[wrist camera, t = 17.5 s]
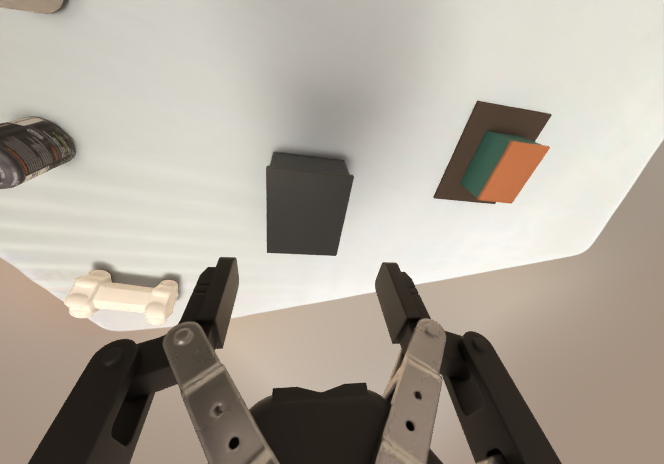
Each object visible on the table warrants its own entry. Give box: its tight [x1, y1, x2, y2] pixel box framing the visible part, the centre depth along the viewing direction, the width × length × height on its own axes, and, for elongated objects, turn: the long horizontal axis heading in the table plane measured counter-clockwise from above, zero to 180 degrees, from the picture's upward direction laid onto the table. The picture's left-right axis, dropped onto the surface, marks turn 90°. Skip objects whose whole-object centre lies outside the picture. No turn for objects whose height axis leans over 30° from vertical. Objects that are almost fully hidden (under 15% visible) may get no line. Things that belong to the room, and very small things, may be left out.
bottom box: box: [266, 152, 354, 256], centre depth 38 cm, size 15×12×7 cm
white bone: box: [64, 270, 178, 325], centre depth 46 cm, size 15×9×8 cm, turn 69°
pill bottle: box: [0, 117, 75, 189], centre depth 28 cm, size 6×6×11 cm
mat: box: [434, 101, 551, 204], centre depth 41 cm, size 16×13×1 cm
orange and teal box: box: [460, 131, 550, 203], centre depth 38 cm, size 9×6×6 cm
